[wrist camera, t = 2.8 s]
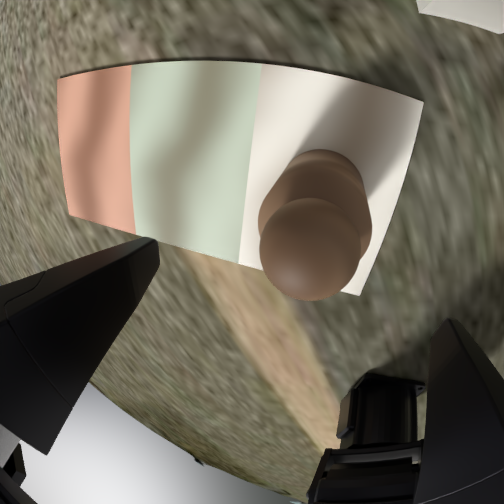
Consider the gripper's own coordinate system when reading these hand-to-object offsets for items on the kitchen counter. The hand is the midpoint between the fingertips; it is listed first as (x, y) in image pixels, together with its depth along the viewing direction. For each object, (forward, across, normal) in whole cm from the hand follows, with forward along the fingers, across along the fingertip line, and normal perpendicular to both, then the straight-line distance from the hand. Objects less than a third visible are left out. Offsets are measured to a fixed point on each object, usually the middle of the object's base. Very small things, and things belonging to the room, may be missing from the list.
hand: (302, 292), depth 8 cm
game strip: (+8, +8, 0) cm, 12 cm away
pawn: (+8, 0, 0) cm, 8 cm away
